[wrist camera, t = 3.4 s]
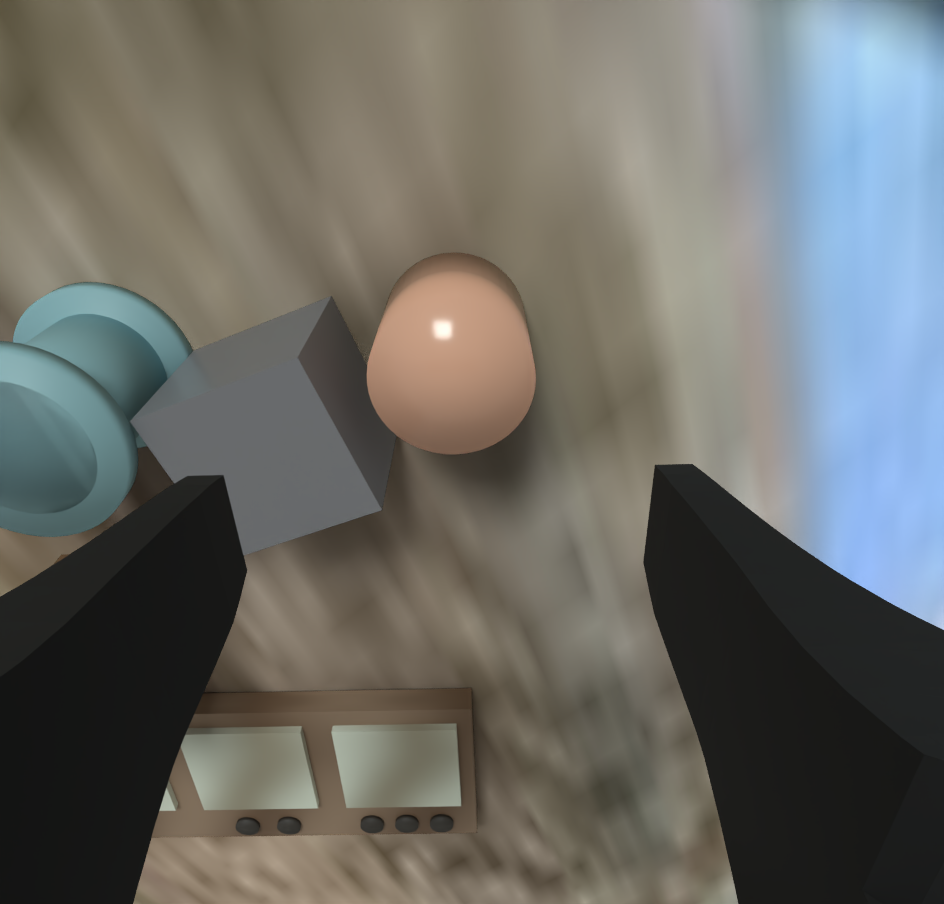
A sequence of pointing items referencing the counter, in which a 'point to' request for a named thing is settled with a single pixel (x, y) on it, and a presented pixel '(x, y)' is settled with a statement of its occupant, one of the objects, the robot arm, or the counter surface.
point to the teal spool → (78, 404)
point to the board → (324, 765)
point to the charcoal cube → (276, 426)
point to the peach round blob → (452, 356)
